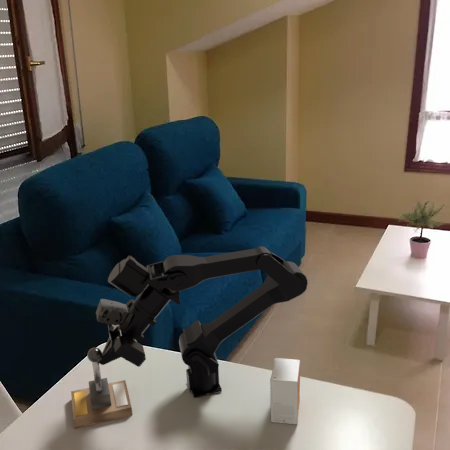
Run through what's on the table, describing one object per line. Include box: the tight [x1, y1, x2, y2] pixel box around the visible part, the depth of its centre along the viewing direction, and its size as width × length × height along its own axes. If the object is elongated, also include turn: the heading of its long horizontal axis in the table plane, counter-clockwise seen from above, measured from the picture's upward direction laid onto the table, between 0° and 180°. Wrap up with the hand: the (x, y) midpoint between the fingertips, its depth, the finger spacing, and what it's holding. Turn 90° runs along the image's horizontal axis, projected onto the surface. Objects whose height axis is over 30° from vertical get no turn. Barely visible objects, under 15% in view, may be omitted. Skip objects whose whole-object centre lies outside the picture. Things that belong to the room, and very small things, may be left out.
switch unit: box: [70, 377, 133, 429], centre depth 117 cm, size 12×10×5 cm
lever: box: [87, 347, 103, 393], centre depth 114 cm, size 3×5×9 cm, turn 17°
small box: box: [269, 357, 301, 425], centre depth 112 cm, size 8×6×10 cm
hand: (100, 363), depth 114 cm, fingers closed, pressing on lever
